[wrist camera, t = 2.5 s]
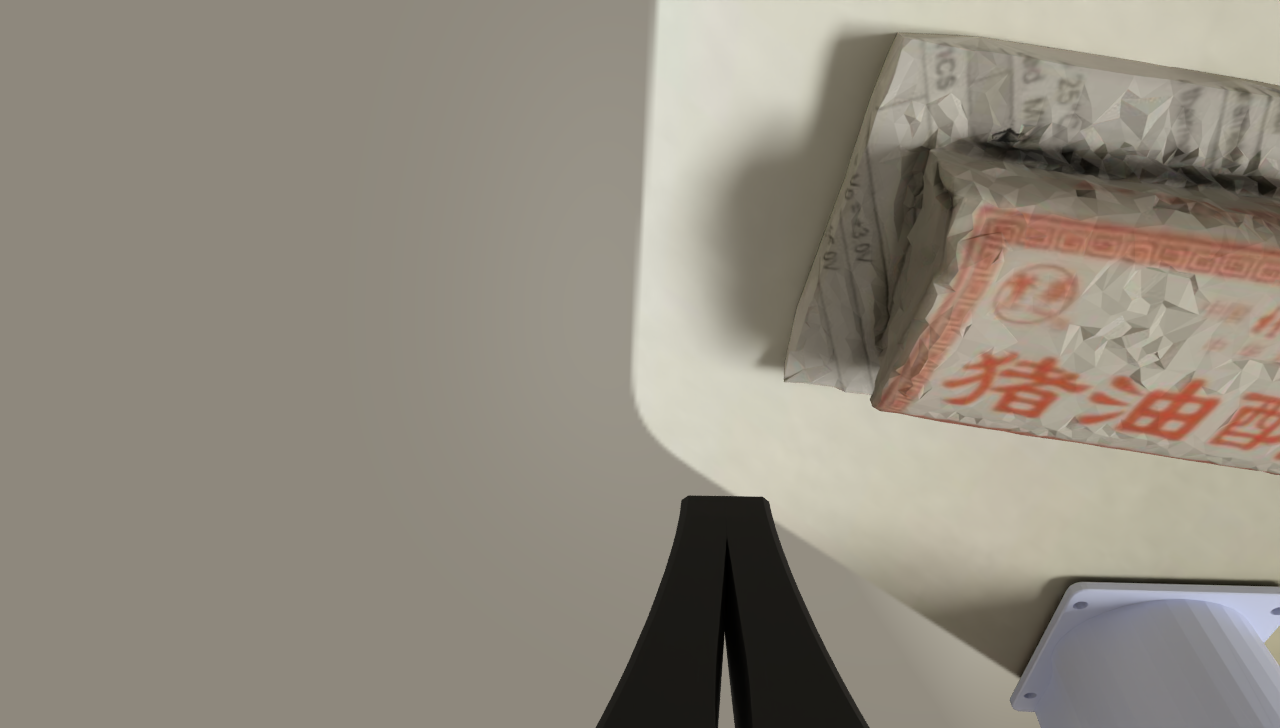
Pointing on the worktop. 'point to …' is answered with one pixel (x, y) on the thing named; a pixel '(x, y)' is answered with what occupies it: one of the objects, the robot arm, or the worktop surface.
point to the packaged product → (1057, 252)
